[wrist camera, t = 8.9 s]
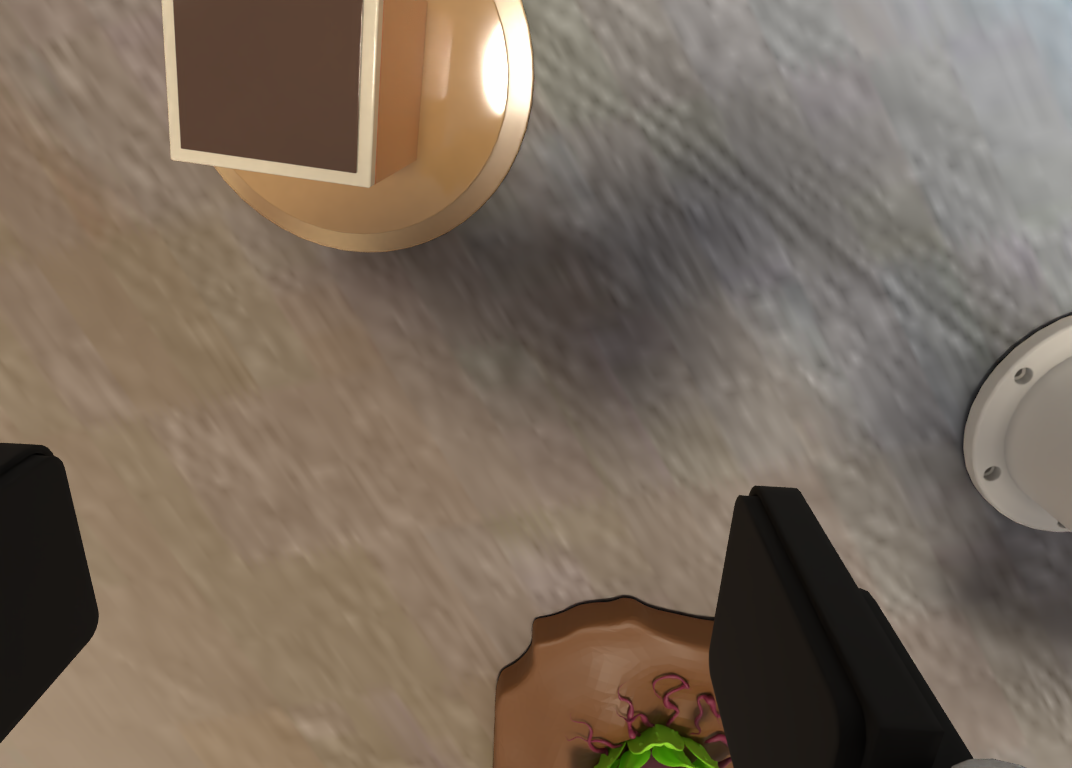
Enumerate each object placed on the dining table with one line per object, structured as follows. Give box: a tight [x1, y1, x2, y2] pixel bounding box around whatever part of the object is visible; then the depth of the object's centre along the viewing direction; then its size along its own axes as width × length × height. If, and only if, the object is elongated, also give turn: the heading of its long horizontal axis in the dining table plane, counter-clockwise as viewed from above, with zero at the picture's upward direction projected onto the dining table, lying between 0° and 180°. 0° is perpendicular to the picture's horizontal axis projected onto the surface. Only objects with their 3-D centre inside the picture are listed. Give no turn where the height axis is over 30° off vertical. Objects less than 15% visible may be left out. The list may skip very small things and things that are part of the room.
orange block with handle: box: [162, 0, 510, 234], centre depth 24 cm, size 16×13×10 cm
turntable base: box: [214, 0, 534, 252], centre depth 30 cm, size 15×15×1 cm
